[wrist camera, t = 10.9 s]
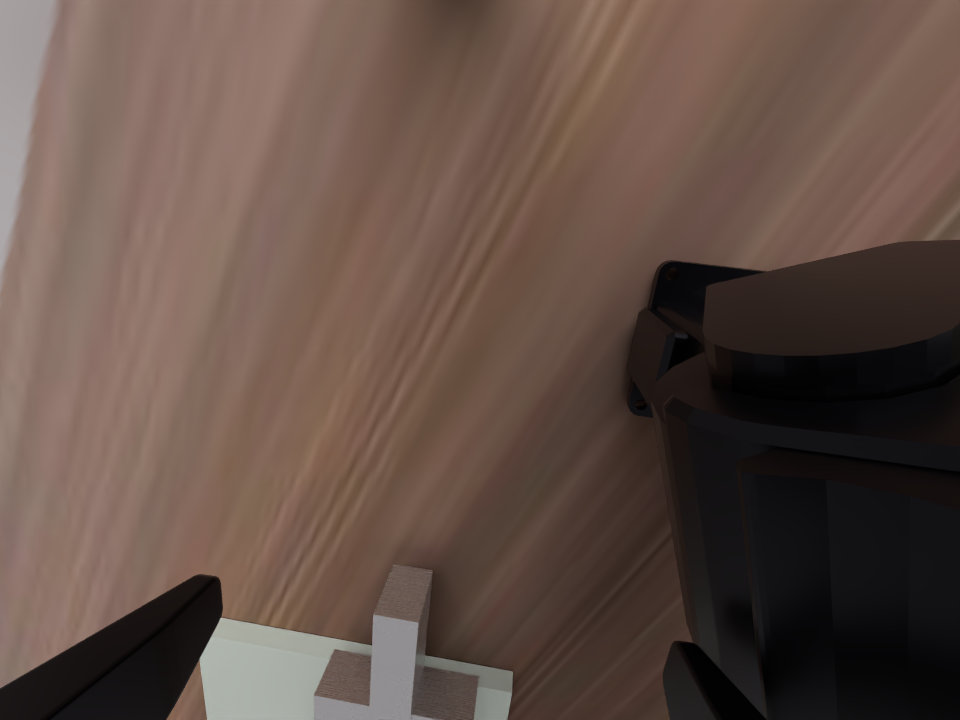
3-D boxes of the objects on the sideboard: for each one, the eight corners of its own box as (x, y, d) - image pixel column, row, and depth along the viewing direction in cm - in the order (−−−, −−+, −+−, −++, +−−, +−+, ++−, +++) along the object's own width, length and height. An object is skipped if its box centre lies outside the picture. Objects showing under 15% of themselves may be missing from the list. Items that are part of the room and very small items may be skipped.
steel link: (335, 553, 22) (306, 602, 20) (493, 580, 22) (487, 635, 19) (333, 746, 27) (310, 808, 24) (464, 773, 26) (456, 840, 24)
